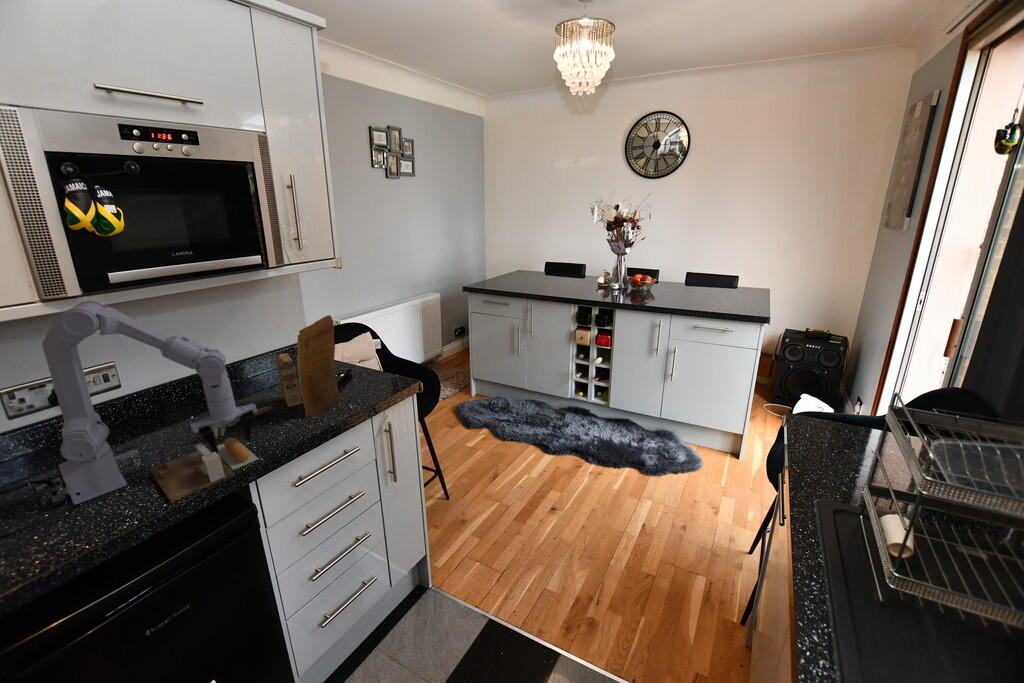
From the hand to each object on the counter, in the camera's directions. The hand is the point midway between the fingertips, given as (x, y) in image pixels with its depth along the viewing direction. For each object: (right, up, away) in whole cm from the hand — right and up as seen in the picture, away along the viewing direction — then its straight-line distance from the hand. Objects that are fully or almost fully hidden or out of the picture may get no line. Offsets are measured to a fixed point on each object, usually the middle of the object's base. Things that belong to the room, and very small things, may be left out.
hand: (232, 446), depth 120 cm
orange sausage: (+1, -2, 0) cm, 2 cm away
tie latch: (0, -4, -8) cm, 9 cm away
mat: (0, -2, +1) cm, 3 cm away
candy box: (+1, +7, +32) cm, 33 cm away
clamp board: (-6, -5, -7) cm, 10 cm away
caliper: (-7, +2, +18) cm, 20 cm away
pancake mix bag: (+14, +6, +27) cm, 31 cm away
